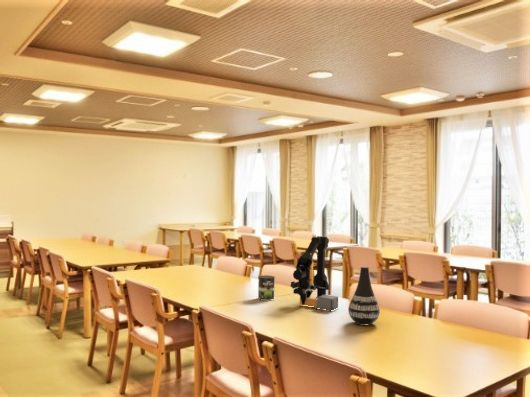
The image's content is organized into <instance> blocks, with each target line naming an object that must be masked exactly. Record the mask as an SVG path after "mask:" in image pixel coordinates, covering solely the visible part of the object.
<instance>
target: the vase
mask: <svg viewBox="0 0 530 397" xmlns="http://www.w3.org/2000/svg"><path fill="white" fill-rule="evenodd" d="M359 271H360V273H359V276H358V277H359V278H358V282H357V285H356V289H355V291H354V294H353V296H351V297H352V298H351V300H350V302H349V304H348V315H349V317H350V319H351V320H352V321H354V322H355V323H356V324H357V323H359V324H370V325H371V324H374V323H375V322H377V320H378V319H379V316H380V312H381V311H380V305H379V303H378V301H377V298H376V296H375V293H374V290H373V286H372V283H371V282H372V281H371V276H370V269H369V267H368V266H361V267H360V270H359ZM359 324H358V325H359Z"/></svg>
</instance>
